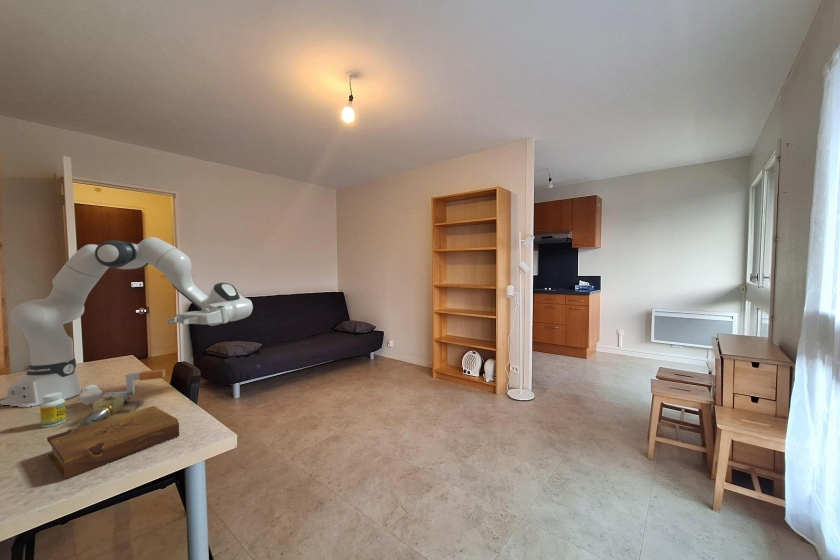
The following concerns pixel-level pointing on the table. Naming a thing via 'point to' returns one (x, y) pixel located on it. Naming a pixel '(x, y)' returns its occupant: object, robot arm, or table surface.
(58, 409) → the supplement bottle
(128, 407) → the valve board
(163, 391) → the table surface
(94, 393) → the muffin
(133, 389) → the valve lever
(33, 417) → the table surface
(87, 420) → the ball valve
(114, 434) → the brown wooden block
